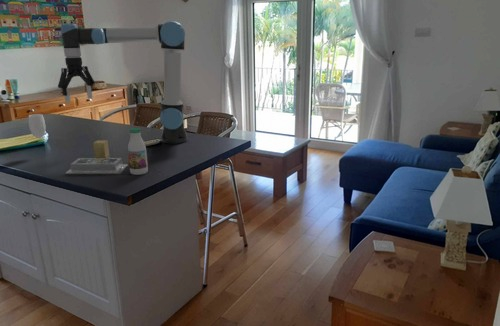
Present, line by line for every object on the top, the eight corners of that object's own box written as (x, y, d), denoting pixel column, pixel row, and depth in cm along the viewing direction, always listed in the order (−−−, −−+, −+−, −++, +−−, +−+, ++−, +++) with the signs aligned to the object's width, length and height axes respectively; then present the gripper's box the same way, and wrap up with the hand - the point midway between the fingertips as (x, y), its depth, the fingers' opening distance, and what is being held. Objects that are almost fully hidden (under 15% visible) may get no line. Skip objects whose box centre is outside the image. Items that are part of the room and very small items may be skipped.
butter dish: (128, 165, 189) (127, 157, 187) (119, 173, 177) (118, 165, 176) (77, 165, 189) (75, 157, 188) (65, 174, 178) (64, 165, 176)
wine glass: (35, 158, 200) (27, 117, 194) (33, 154, 206) (26, 114, 200) (51, 155, 204) (44, 115, 198) (49, 152, 210) (42, 113, 204)
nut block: (109, 160, 197) (107, 140, 194) (106, 163, 192) (103, 143, 189) (99, 160, 197) (97, 140, 194) (95, 163, 192) (93, 143, 189)
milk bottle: (132, 170, 182) (127, 126, 176) (149, 169, 183) (145, 126, 177) (128, 175, 175) (123, 130, 169) (146, 175, 176) (142, 130, 169)
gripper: (88, 55, 210) (93, 96, 217) (45, 58, 190) (52, 103, 196) (98, 55, 207) (103, 97, 214) (55, 58, 186) (63, 104, 193)
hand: (79, 100), depth 205 cm, fingers open, 13 cm apart
